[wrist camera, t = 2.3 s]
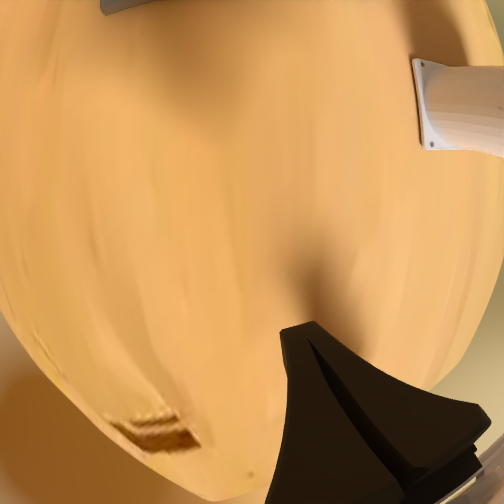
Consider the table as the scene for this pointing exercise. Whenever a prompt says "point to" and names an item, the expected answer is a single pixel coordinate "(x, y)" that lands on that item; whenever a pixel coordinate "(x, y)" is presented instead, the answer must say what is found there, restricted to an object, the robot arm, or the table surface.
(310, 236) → the table surface
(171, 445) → the table surface
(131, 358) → the table surface
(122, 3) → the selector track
